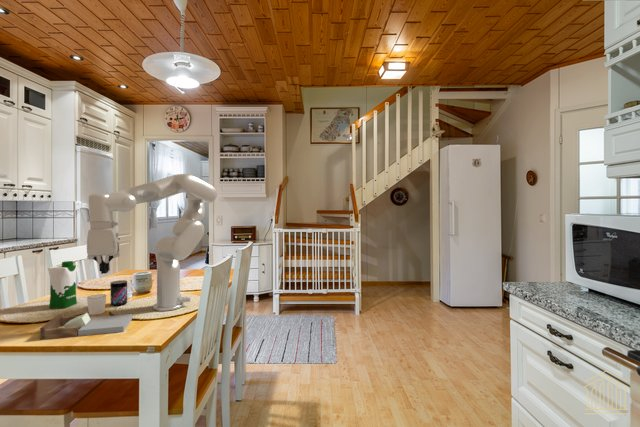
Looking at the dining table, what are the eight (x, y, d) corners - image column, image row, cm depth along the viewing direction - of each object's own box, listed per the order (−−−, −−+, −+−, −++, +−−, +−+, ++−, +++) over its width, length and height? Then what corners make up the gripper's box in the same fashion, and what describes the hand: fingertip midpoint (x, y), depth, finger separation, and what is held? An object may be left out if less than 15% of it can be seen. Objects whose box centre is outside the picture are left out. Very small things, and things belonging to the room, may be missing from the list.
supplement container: (107, 306, 149) (107, 283, 149) (115, 302, 156) (115, 280, 156) (122, 306, 150) (122, 283, 149) (130, 302, 156) (130, 280, 156)
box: (90, 322, 130) (90, 312, 129) (77, 336, 116) (77, 324, 116) (58, 325, 126) (58, 314, 126) (40, 339, 113) (40, 327, 113)
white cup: (110, 310, 144) (110, 294, 144) (98, 315, 138) (98, 298, 137) (95, 309, 145) (95, 293, 145) (82, 314, 138) (82, 298, 138)
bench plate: (132, 318, 134) (132, 314, 134) (123, 331, 121) (123, 326, 121) (91, 322, 130) (91, 317, 130) (78, 335, 116) (78, 330, 116)
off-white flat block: (90, 319, 126) (87, 312, 126) (85, 324, 120) (81, 317, 120) (73, 327, 124) (69, 320, 124) (67, 333, 119) (63, 325, 118)
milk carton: (65, 309, 145) (64, 263, 144) (45, 308, 145) (44, 263, 145) (80, 303, 154) (80, 260, 153) (61, 302, 154) (61, 259, 153)
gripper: (126, 224, 133) (128, 269, 134) (82, 225, 128) (85, 272, 129) (121, 225, 126) (124, 273, 127) (75, 227, 121) (78, 277, 122)
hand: (104, 272), depth 128 cm, fingers closed
